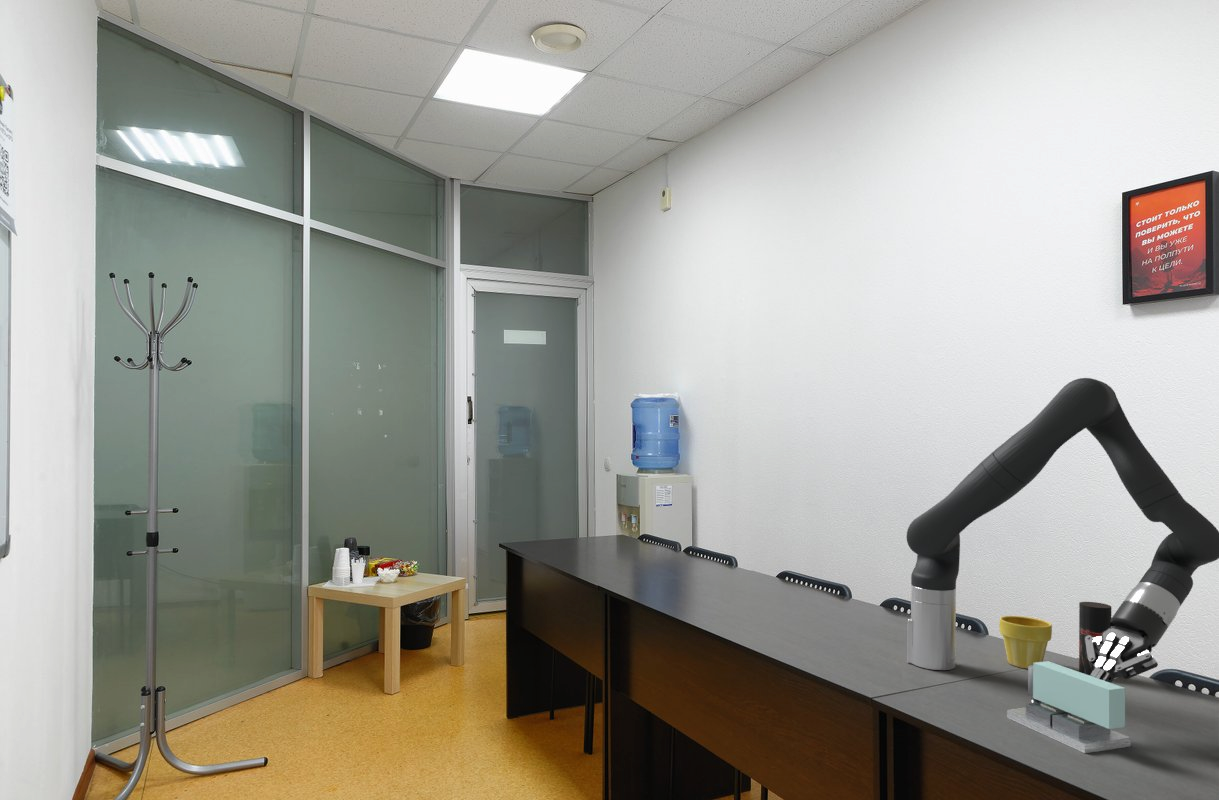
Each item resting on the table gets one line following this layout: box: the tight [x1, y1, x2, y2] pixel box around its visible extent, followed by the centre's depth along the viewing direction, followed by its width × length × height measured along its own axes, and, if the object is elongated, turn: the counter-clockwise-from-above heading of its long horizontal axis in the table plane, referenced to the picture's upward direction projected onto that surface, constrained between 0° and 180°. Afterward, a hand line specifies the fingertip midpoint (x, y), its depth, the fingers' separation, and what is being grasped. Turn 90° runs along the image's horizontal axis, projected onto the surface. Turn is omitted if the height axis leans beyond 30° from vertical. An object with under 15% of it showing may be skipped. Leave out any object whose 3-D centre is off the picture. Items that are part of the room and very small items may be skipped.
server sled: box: [1006, 697, 1131, 754], centre depth 139 cm, size 16×10×4 cm, turn 18°
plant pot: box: [999, 615, 1053, 670], centre depth 178 cm, size 10×10×10 cm
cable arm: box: [1027, 660, 1126, 730], centre depth 138 cm, size 17×4×6 cm, turn 18°
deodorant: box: [1078, 601, 1112, 676], centre depth 171 cm, size 6×6×15 cm
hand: (1093, 689), depth 137 cm, fingers closed
